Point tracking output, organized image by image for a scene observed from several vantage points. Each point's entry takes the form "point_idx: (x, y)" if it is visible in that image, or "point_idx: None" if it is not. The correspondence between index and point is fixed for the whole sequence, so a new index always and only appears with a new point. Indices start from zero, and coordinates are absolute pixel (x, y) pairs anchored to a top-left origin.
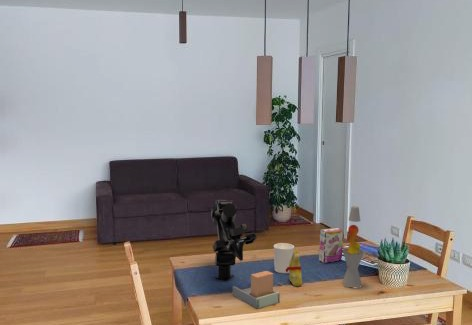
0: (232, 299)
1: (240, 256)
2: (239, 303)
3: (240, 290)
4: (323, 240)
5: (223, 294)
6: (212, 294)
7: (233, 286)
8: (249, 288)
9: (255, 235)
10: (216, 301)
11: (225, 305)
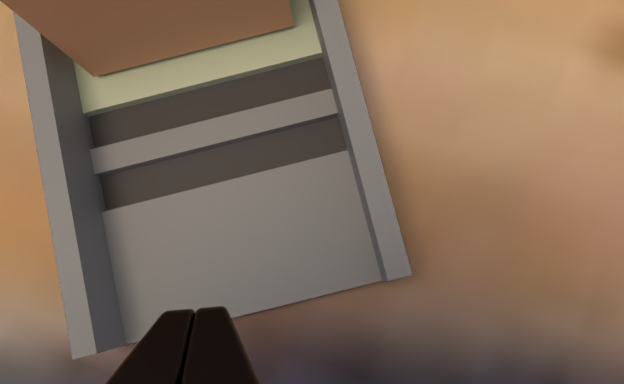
0: (443, 160)
1: (207, 375)
2: (409, 49)
3: (366, 120)
4: None
5: (493, 318)
6: (614, 362)
7: (402, 271)
8: None
9: None
10: (619, 167)
11: (557, 49)
